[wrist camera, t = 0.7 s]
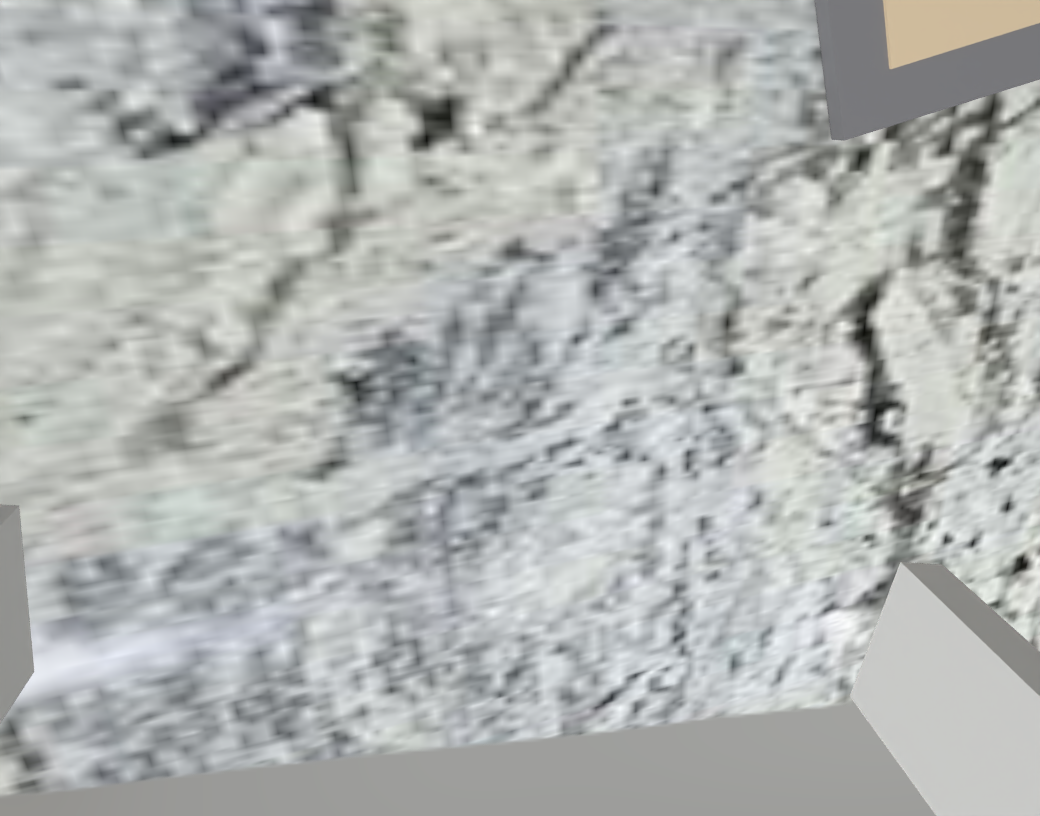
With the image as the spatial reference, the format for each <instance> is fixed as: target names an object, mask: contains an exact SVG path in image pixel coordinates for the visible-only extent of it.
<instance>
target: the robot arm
mask: <svg viewBox="0 0 1040 816" xmlns="http://www.w3.org/2000/svg"><path fill="white" fill-rule="evenodd" d="M33 673H34V664H33V653H32V642H31V631H30V620H29V609H28V598H27V587H26V576H25V565H24V554H23V543H22V532H21V521H20V509H19V506H16V505H0V723H1V722H2V720H3V719H4V717H5V716H6V714H7V713H8V711H9V710H10V708H11V707H12V705H13V703H14V702H15V700H16V699H17V697H18V696H19V694H20V693H21V691H22V690H23V688H24V686H25V685H26V683H27V682H28V680H29V679H30V677H31V676H32V674H33ZM850 697H851V698H852V700H853V701H854V703H855V704H856V705H857V707H858V708H859V709H860V711H861V712H862V714H863V715H864V716H865V718H866V719H867V720H868V722H869V723H870V724H871V726H872V727H873V729H874V730H875V732H876V733H877V734H878V736H879V737H880V738H881V740H882V741H883V743H884V744H885V745H886V747H887V748H888V750H889V751H890V752H891V754H892V755H893V757H894V758H895V759H896V761H897V762H898V763H899V765H900V766H901V768H902V769H903V770H904V772H905V773H906V774H907V776H908V777H909V779H910V780H911V781H912V783H913V784H914V786H915V787H916V788H917V790H918V791H919V793H920V794H921V795H922V796H923V798H924V799H925V801H926V802H927V804H928V805H929V806H930V808H931V809H932V811H933V812H934V813H935V815H936V816H1040V652H1039V651H1038V650H1037V649H1036V648H1035V647H1034V646H1033V645H1032V644H1030V643H1029V642H1028V641H1027V640H1026V639H1025V638H1024V637H1023V636H1022V635H1020V634H1019V633H1018V632H1017V631H1016V630H1015V629H1014V628H1013V627H1011V626H1010V625H1009V624H1008V623H1007V622H1006V621H1005V620H1004V619H1003V618H1001V617H1000V616H999V615H998V614H997V613H996V612H995V611H994V610H992V609H991V608H990V607H989V606H988V605H987V604H986V603H985V602H984V601H982V600H981V599H980V598H979V597H978V596H977V595H976V594H975V593H973V592H972V591H971V590H970V589H969V588H968V587H967V586H966V585H965V584H963V583H962V582H961V581H960V580H959V579H958V578H957V577H956V576H954V575H953V574H952V573H951V572H950V571H949V570H948V569H947V568H946V567H944V566H943V565H940V564H924V563H909V562H900V565H899V568H898V570H897V573H896V576H895V578H894V581H893V583H892V586H891V589H890V591H889V594H888V597H887V599H886V602H885V605H884V607H883V610H882V612H881V615H880V618H879V620H878V623H877V626H876V628H875V631H874V634H873V636H872V639H871V641H870V644H869V647H868V649H867V652H866V655H865V657H864V660H863V663H862V665H861V668H860V670H859V673H858V676H857V678H856V681H855V684H854V686H853V689H852V692H851V694H850Z"/></svg>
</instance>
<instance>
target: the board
mask: <svg viewBox="0 0 1040 816" xmlns="http://www.w3.org/2000/svg"><path fill="white" fill-rule="evenodd" d="M815 7H816V15H817V23H818V32H819V40H820V48H821V56H822V65H823V73H824V81H825V89H826V97H827V106H828V114H829V122H830V130H831V138H832V140H847V139H850V138H854V137H857V136H860V135H863V134H866V133H870V132H873V131H876V130H879V129H882V128H886V127H889V126H892V125H895V124H898V123H902V122H905V121H908V120H911V119H914V118H918V117H921V116H924V115H927V114H930V113H934V112H937V111H940V110H943V109H946V108H950V107H953V106H956V105H959V104H962V103H966V102H969V101H972V100H975V99H978V98H982V97H985V96H988V95H991V94H994V93H998V92H1001V91H1004V90H1007V89H1010V88H1014V87H1017V86H1020V85H1023V84H1026V83H1030V82H1033V81H1036V80H1039V79H1040V0H815Z"/></svg>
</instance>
